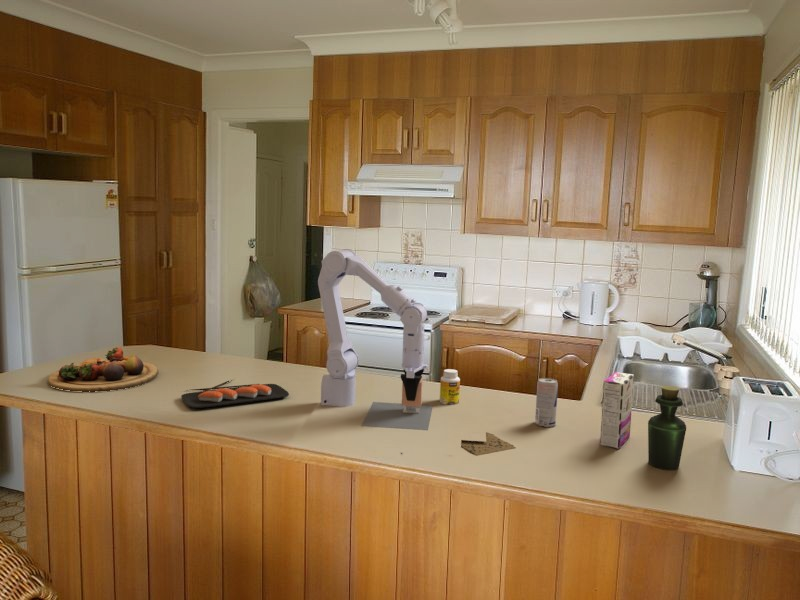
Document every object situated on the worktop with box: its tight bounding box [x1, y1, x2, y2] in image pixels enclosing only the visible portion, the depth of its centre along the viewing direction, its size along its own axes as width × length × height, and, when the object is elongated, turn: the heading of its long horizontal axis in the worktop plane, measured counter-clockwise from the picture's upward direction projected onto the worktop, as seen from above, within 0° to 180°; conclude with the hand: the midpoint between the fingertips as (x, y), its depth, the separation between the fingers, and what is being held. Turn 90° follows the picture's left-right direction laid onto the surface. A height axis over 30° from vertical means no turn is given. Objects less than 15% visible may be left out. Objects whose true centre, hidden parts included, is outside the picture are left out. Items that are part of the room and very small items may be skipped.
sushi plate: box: [180, 380, 290, 409], centre depth 199 cm, size 29×30×4 cm
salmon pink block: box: [401, 377, 424, 407], centre depth 181 cm, size 5×5×7 cm
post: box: [403, 406, 420, 414], centre depth 182 cm, size 4×4×4 cm
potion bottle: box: [647, 385, 687, 471], centre depth 150 cm, size 8×8×18 cm
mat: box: [360, 401, 434, 431], centre depth 178 cm, size 17×21×1 cm
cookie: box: [460, 431, 517, 457], centre depth 161 cm, size 12×12×1 cm
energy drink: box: [534, 377, 559, 428], centre depth 176 cm, size 5×5×12 cm
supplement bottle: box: [439, 368, 461, 406], centre depth 191 cm, size 6×6×10 cm
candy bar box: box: [599, 371, 635, 450], centre depth 165 cm, size 11×5×16 cm, turn 148°
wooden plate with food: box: [47, 346, 159, 393], centre depth 210 cm, size 32×32×8 cm
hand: (411, 397), depth 181 cm, fingers closed on salmon pink block, 5 cm apart
